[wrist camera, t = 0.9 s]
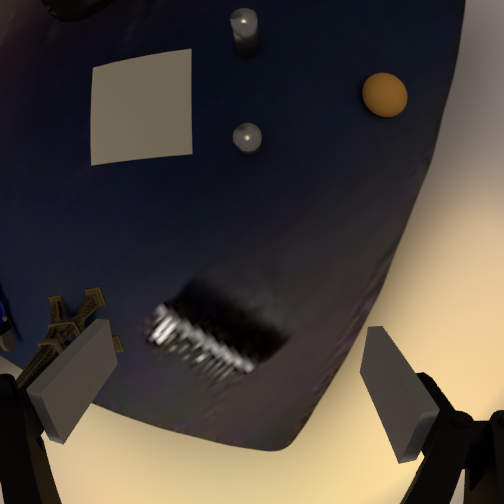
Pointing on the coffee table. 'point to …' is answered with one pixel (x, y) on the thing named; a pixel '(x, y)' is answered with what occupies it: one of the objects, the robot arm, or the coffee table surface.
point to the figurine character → (6, 331)
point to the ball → (384, 94)
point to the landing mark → (142, 108)
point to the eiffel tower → (64, 331)
